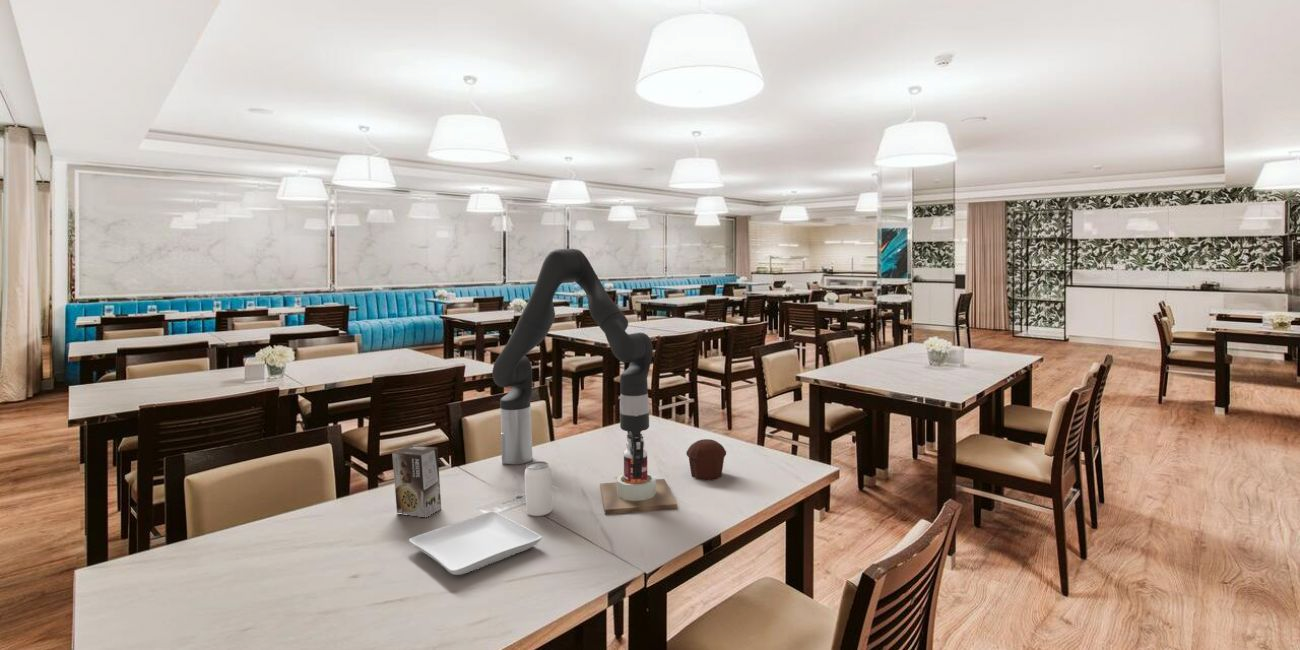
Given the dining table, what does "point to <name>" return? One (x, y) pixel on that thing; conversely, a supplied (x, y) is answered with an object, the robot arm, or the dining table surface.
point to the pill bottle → (629, 467)
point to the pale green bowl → (636, 489)
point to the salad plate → (475, 542)
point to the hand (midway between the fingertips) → (635, 473)
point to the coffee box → (417, 480)
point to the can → (538, 489)
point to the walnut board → (620, 505)
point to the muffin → (706, 459)
